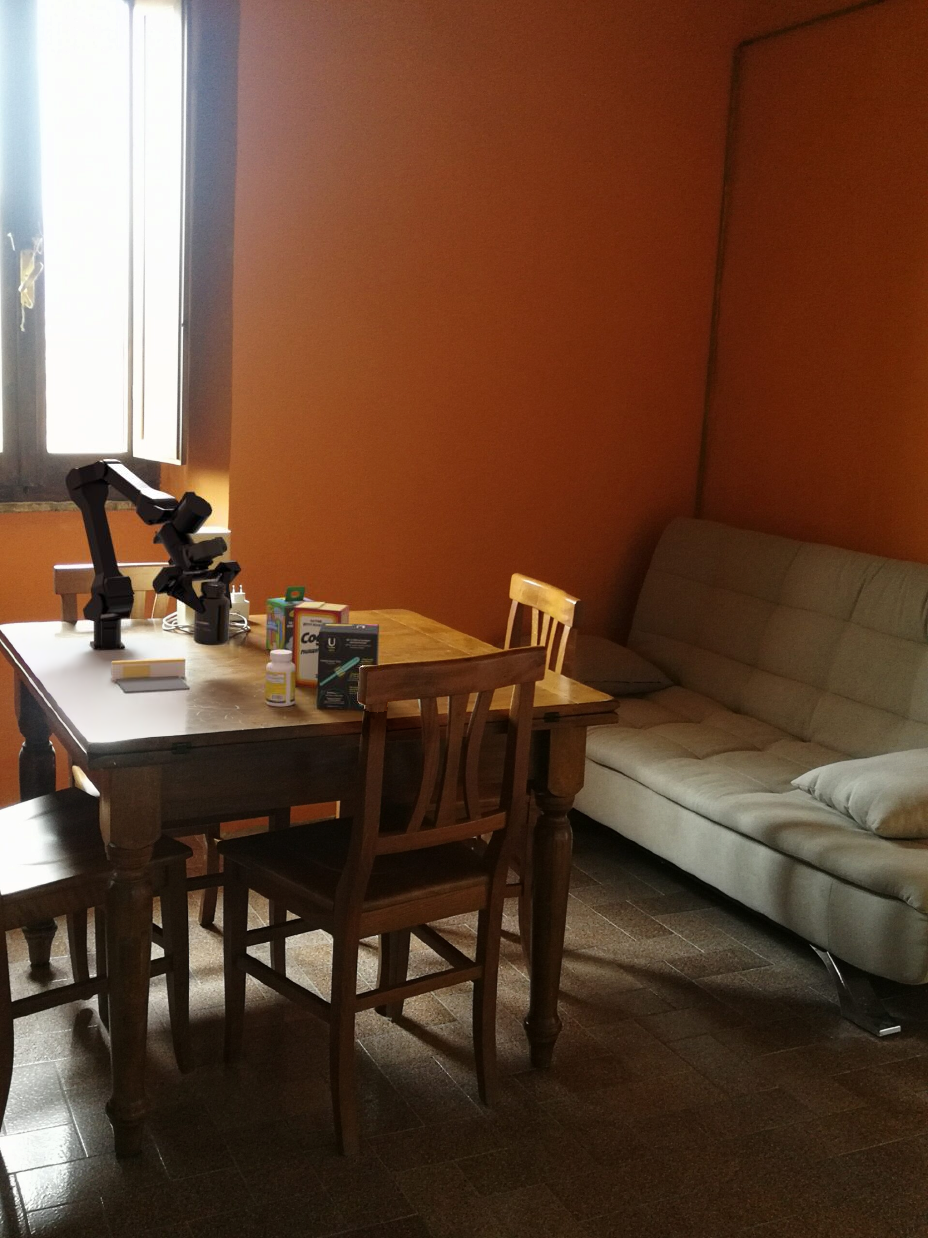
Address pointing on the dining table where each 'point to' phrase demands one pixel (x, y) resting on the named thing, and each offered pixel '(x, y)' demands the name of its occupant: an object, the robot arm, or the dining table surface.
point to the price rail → (148, 668)
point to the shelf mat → (152, 684)
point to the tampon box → (344, 662)
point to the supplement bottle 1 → (212, 615)
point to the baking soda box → (312, 636)
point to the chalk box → (282, 619)
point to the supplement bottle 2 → (280, 679)
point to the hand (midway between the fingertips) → (216, 610)
